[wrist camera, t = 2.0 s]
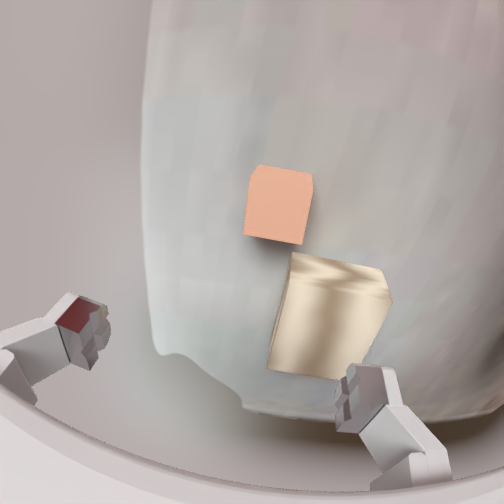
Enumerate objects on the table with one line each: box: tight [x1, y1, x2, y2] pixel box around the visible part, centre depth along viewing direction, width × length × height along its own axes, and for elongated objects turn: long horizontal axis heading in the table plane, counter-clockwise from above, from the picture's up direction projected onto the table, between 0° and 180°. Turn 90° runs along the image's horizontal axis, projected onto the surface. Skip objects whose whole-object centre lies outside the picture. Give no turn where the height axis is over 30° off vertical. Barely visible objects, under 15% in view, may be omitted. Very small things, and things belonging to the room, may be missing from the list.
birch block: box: [266, 252, 393, 380], centre depth 32 cm, size 10×12×6 cm
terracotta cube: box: [243, 165, 314, 245], centre depth 27 cm, size 5×5×5 cm
